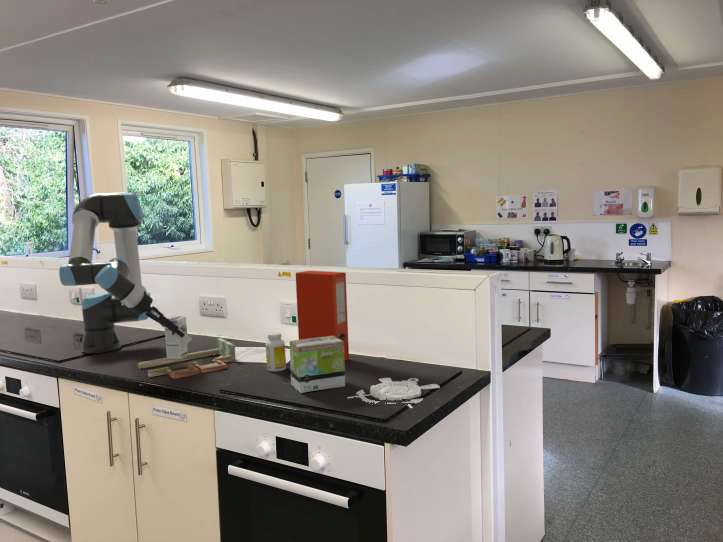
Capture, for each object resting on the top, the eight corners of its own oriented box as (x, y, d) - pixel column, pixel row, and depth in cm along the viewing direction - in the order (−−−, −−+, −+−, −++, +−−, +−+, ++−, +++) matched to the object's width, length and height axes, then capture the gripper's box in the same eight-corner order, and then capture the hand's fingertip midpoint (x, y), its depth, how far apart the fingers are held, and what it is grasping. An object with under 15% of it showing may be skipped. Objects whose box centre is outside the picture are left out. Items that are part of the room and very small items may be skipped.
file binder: (313, 353, 230) (309, 270, 226) (349, 358, 220) (345, 272, 216) (299, 358, 224) (294, 272, 220) (335, 364, 213) (331, 275, 209)
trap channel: (138, 368, 220) (137, 351, 219) (221, 352, 237) (220, 337, 236) (155, 382, 200) (153, 365, 200) (244, 364, 218) (243, 348, 217)
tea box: (300, 394, 182) (298, 347, 180) (290, 385, 191) (288, 340, 189) (346, 386, 188) (344, 340, 186) (335, 378, 197) (332, 334, 195)
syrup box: (181, 359, 215) (178, 319, 213) (166, 358, 216) (163, 319, 215) (188, 355, 221) (186, 316, 219) (174, 354, 222) (172, 315, 220)
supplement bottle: (289, 367, 212) (287, 331, 210) (281, 372, 206) (278, 336, 204) (272, 366, 214) (270, 331, 213) (263, 371, 208) (261, 335, 206)
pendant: (340, 403, 174) (340, 398, 174) (386, 376, 198) (386, 372, 198) (407, 414, 164) (406, 409, 163) (446, 384, 187) (446, 380, 187)
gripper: (123, 305, 217) (171, 342, 227) (136, 313, 199) (187, 352, 210) (137, 289, 219) (184, 326, 229) (151, 295, 202) (201, 335, 212)
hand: (186, 339), depth 220 cm, fingers closed on syrup box, 8 cm apart
